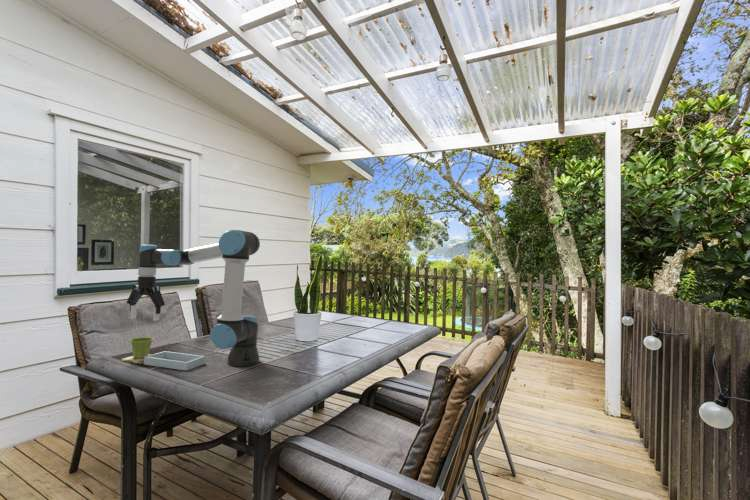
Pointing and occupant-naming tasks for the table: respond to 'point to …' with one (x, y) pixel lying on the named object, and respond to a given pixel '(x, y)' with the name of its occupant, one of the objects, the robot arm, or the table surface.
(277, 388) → the table surface
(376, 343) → the table surface
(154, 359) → the pale blue tray
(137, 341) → the plant pot
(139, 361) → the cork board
